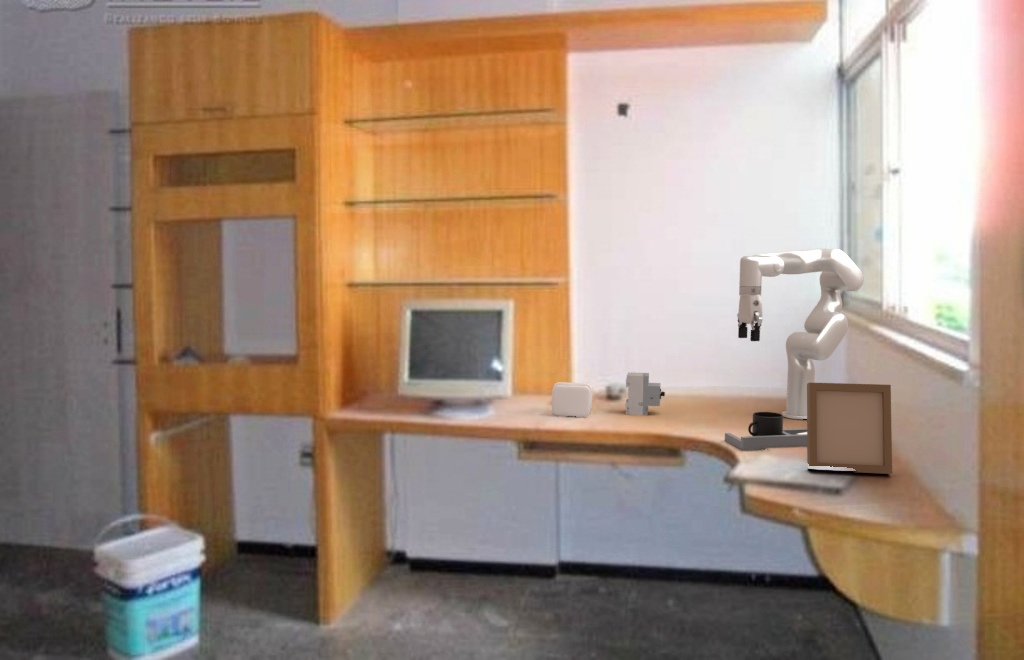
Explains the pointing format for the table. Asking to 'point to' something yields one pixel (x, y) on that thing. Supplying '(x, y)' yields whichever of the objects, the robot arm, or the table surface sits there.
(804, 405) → the robot arm
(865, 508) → the table surface
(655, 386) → the circuit breaker
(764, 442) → the organizer
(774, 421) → the mug
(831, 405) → the photo frame
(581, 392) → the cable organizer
